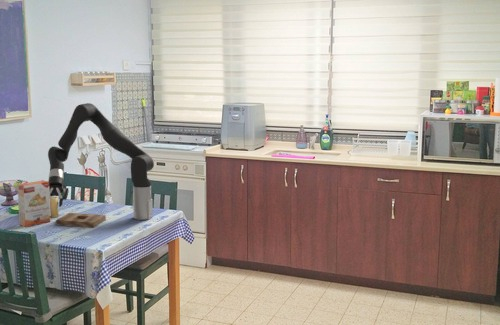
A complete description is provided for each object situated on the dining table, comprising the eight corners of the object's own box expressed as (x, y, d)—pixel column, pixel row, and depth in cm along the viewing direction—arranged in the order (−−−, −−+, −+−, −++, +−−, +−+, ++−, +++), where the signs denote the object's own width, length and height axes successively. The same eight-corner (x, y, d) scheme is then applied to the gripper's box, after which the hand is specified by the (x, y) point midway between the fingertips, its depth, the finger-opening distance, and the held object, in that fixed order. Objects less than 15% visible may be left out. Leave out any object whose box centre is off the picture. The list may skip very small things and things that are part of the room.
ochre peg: (60, 215, 291) (59, 197, 289) (56, 217, 287) (55, 199, 285) (52, 215, 291) (52, 196, 289) (49, 217, 287) (48, 198, 285)
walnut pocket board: (105, 219, 285) (105, 215, 284) (94, 227, 271) (94, 222, 271) (69, 217, 288) (68, 212, 287) (55, 224, 274) (55, 220, 274)
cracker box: (25, 227, 268) (23, 185, 265) (18, 225, 272) (16, 183, 268) (51, 221, 279) (49, 181, 276) (44, 219, 283) (42, 179, 279)
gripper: (40, 175, 291) (38, 203, 282) (69, 175, 294) (67, 202, 284) (42, 183, 297) (40, 210, 288) (70, 182, 300) (69, 209, 290)
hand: (53, 206), depth 286 cm, fingers open, 5 cm apart
